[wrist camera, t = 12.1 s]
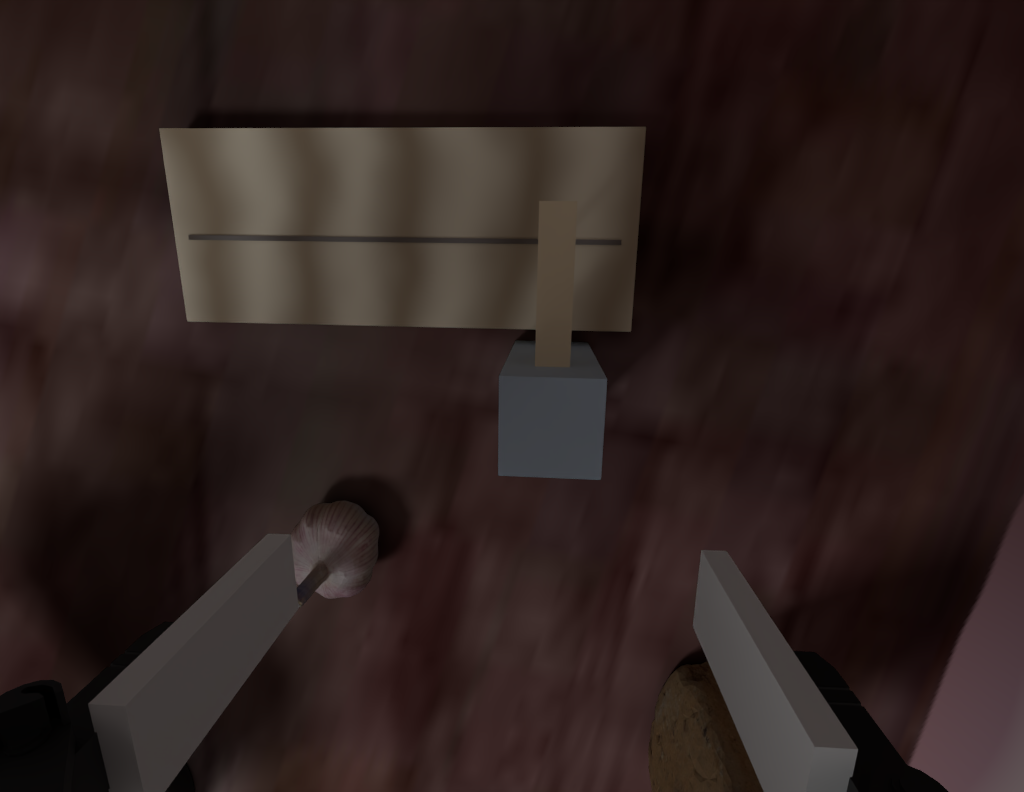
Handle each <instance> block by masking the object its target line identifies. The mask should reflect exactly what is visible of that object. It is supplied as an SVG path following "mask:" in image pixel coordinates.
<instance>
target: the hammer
mask: <svg viewBox="0 0 1024 792" xmlns="http://www.w3.org/2000/svg"><path fill="white" fill-rule="evenodd" d="M576 220H577V201H539V229H538V267H537V305H536V341H518V340H516V341H515V343H514V345H513V347H512V349H511V352H510V354H509V356H508V358H507V360H506V362H505V364H504V366H503V369H502V371H501V373H500V375H499V441H498V476H522V477H545V478H568V479H592V480H601V470H602V454H603V438H604V422H605V407H606V391H607V378H606V376H605V374H604V372H603V370H602V368H601V366H600V365H599V363H598V361H597V359H596V357H595V355H594V353H593V351H592V349H591V347H590V346H589V344H588V342H571V333H572V311H573V288H574V266H575V243H576Z"/></svg>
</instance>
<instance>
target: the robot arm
mask: <svg viewBox="0 0 1024 792" xmlns="http://www.w3.org/2000/svg"><path fill="white" fill-rule="evenodd" d="M298 608H299V606H298V597H297V588H296V579H295V569H294V560H293V551H292V542H291V534H267V535H266V536H265V537H264V538H263V539H262V540H261V541H260V542H258V543H257V544H256V545H255V546H254V547H253V548H252V549H251V550H250V551H249V552H248V553H247V554H246V555H245V556H244V557H243V558H242V559H241V560H239V561H238V562H237V563H236V564H235V565H234V566H233V567H232V568H231V569H230V570H229V571H228V572H227V573H226V574H225V575H224V576H223V577H222V578H220V579H219V580H218V581H217V582H216V583H215V584H214V585H213V586H212V587H211V588H210V589H209V590H208V591H207V592H206V593H205V594H204V595H203V596H201V597H200V598H199V599H198V600H197V601H196V602H195V603H194V604H193V605H192V606H191V607H190V608H189V609H188V610H187V611H186V612H185V613H184V614H182V615H181V616H180V617H179V618H178V619H177V620H176V621H175V622H164V623H162V624H160V625H159V626H157V627H155V628H154V629H152V630H150V631H149V632H147V633H145V634H143V635H142V636H141V637H140V638H139V639H138V640H136V641H135V642H134V643H133V644H132V645H131V646H130V647H129V648H128V649H127V650H125V653H124V654H121V655H120V656H119V657H118V658H117V659H115V660H114V661H113V662H112V663H111V665H110V667H107V668H105V669H104V670H103V671H102V672H101V673H100V674H99V675H98V676H97V677H96V678H94V679H93V680H92V681H91V682H90V683H89V684H88V685H87V686H86V687H84V688H83V689H82V690H81V691H80V692H79V693H78V694H77V695H76V696H75V697H73V698H72V699H71V700H70V701H69V702H68V703H67V704H66V701H65V697H64V693H63V689H62V686H61V683H59V682H56V681H54V680H40V681H36V682H32V683H28V684H24V685H22V686H19V687H17V688H15V689H12V690H10V691H8V692H6V693H4V694H2V695H1V696H0V792H194V785H193V780H192V777H191V774H190V772H189V770H188V768H187V766H186V764H185V763H186V762H187V761H188V759H189V758H190V757H191V755H192V754H193V752H194V751H195V750H196V748H197V747H198V746H199V744H200V743H201V742H202V740H203V739H204V737H205V736H206V735H207V733H208V732H209V731H210V729H211V728H212V726H213V725H214V724H215V722H216V721H217V720H218V718H219V717H220V715H221V714H222V713H223V711H224V710H225V709H226V707H227V706H228V704H229V703H230V702H231V700H232V699H233V698H234V696H235V695H236V693H237V692H238V691H239V689H240V688H241V687H242V685H243V684H244V682H245V681H246V680H247V678H248V677H249V676H250V674H251V673H252V671H253V670H254V669H255V667H256V666H257V665H258V663H259V662H260V661H261V659H262V658H263V656H264V655H265V654H266V652H267V651H268V650H269V648H270V647H271V645H272V644H273V643H274V641H275V640H276V639H277V637H278V636H279V634H280V633H281V632H282V630H283V629H284V628H285V626H286V625H287V623H288V622H289V621H290V619H291V618H292V617H293V615H294V614H295V612H296V611H297V610H298ZM693 628H694V630H695V632H696V635H697V637H698V639H699V642H700V644H701V646H702V649H703V651H704V653H705V656H706V658H707V660H708V663H709V665H710V667H711V670H712V672H713V674H714V677H715V679H716V681H717V684H718V686H719V688H720V691H721V693H722V695H723V698H724V700H725V702H726V705H727V707H728V709H729V712H730V714H731V717H732V719H733V721H734V724H735V726H736V728H737V731H738V733H739V735H740V738H741V740H742V742H743V745H744V747H745V749H746V752H747V754H748V756H749V759H750V761H751V763H752V766H753V768H754V770H755V773H756V775H757V777H758V780H759V782H760V784H761V787H762V789H763V791H764V792H948V791H947V790H946V789H945V788H944V787H943V786H942V785H941V784H940V783H938V782H937V781H936V780H934V779H933V778H931V777H930V776H928V775H927V774H925V773H924V772H922V771H920V770H918V769H915V768H912V767H910V766H908V765H907V764H906V763H905V762H904V760H903V759H902V758H901V756H900V755H899V754H898V752H897V751H896V750H895V748H894V747H893V746H892V744H891V743H890V742H889V740H888V739H887V738H886V736H885V735H884V733H883V732H882V731H881V729H880V728H879V727H878V725H877V724H876V723H875V721H874V720H873V719H872V717H871V716H870V715H869V713H868V712H867V711H866V709H865V708H864V707H862V706H861V703H860V701H859V700H858V698H857V697H856V696H855V694H854V693H853V692H852V691H850V690H849V686H848V685H847V684H846V682H845V681H844V680H843V678H842V677H841V676H840V674H839V673H838V672H837V670H836V669H835V668H834V667H833V666H831V665H830V664H829V663H828V662H826V661H825V660H824V659H823V658H821V657H820V656H819V655H818V654H817V653H815V652H802V651H793V650H792V649H791V647H790V646H789V644H788V643H787V641H786V640H785V638H784V637H783V635H782V634H781V632H780V631H779V629H778V628H777V626H776V625H775V623H774V622H773V620H772V619H771V617H770V616H769V614H768V613H767V611H766V610H765V608H764V607H763V605H762V604H761V602H760V601H759V599H758V598H757V596H756V595H755V593H754V592H753V590H752V589H751V587H750V586H749V584H748V583H747V581H746V580H745V578H744V577H743V575H742V574H741V572H740V571H739V569H738V568H737V566H736V565H735V563H734V562H733V560H732V559H731V557H730V556H729V554H728V553H727V551H710V550H701V558H700V567H699V576H698V585H697V594H696V603H695V612H694V621H693Z"/></svg>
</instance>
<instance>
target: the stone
mask: <svg viewBox="0 0 1024 792" xmlns="http://www.w3.org/2000/svg"><path fill="white" fill-rule="evenodd" d="M648 755H649V773H650V780H651V787H652V792H764V791H763V789H762V787H761V784H760V782H759V780H758V777H757V775H756V773H755V770H754V768H753V766H752V763H751V761H750V759H749V756H748V754H747V752H746V749H745V747H744V745H743V742H742V740H741V738H740V735H739V733H738V731H737V728H736V726H735V724H734V721H733V719H732V717H731V714H730V712H729V709H728V707H727V705H726V702H725V700H724V698H723V695H722V693H721V691H720V688H719V686H718V684H717V681H716V679H715V677H714V674H713V672H712V670H711V667H710V665H709V663H708V661H706V662H704V663H702V664H695V665H689V664H686V665H683V666H680V667H679V668H678V669H676V670H675V671H674V672H673V673H672V674H671V675H670V677H669V678H668V680H667V681H666V683H665V685H664V686H663V688H662V690H661V692H660V694H659V697H658V701H657V704H656V707H655V719H654V720H653V722H652V727H651V736H650V742H649V753H648Z"/></svg>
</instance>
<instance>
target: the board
mask: <svg viewBox="0 0 1024 792" xmlns="http://www.w3.org/2000/svg"><path fill="white" fill-rule="evenodd" d="M159 130H160V137H161V144H162V151H163V158H164V165H165V171H166V178H167V185H168V192H169V199H170V206H171V213H172V220H173V227H174V233H175V240H176V247H177V254H178V261H179V268H180V275H181V282H182V288H183V295H184V302H185V309H186V316H187V321H189V322H232V323H275V324H318V325H360V326H403V327H446V328H489V329H532V330H536V305H537V267H538V229H539V201H577V220H576V243H575V266H574V288H573V311H572V330H575V331H618V332H631V325H632V311H633V298H634V284H635V271H636V257H637V244H638V230H639V217H640V203H641V190H642V176H643V162H644V149H645V135H646V127H438V128H159Z"/></svg>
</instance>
